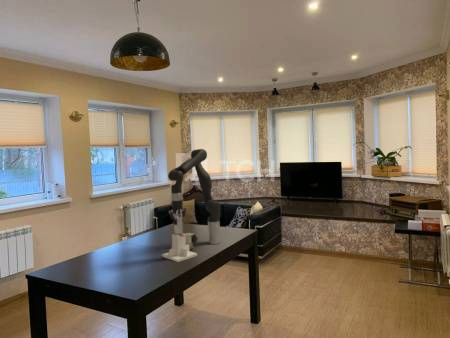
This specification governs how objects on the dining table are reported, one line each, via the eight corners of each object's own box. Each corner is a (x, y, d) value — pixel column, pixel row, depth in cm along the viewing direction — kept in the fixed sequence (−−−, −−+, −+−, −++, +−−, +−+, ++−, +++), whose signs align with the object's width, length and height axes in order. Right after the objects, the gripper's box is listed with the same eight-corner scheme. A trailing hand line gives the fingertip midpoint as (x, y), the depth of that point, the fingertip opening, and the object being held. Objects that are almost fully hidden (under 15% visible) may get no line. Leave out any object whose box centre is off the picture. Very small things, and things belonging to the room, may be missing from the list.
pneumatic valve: (193, 250, 244) (193, 234, 244) (181, 248, 251) (181, 232, 250) (198, 248, 249) (197, 232, 248) (186, 246, 256) (185, 230, 255)
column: (179, 243, 235) (178, 216, 234) (183, 244, 232) (182, 217, 231) (174, 245, 232) (173, 217, 231) (178, 246, 229) (177, 218, 228)
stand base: (181, 250, 244) (180, 229, 244) (197, 255, 232) (196, 232, 231) (162, 256, 233) (160, 233, 232) (177, 262, 220) (176, 237, 219)
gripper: (181, 197, 238) (183, 221, 239) (165, 200, 228) (166, 225, 229) (188, 198, 232) (189, 222, 233) (171, 201, 222) (172, 226, 223)
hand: (178, 223), depth 231 cm, fingers closed on column, 4 cm apart
